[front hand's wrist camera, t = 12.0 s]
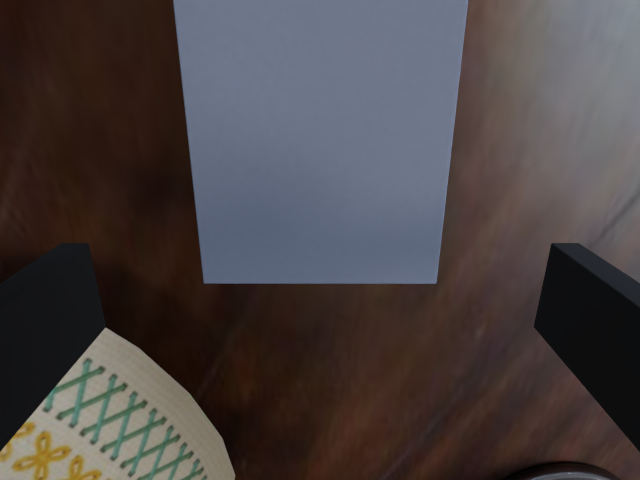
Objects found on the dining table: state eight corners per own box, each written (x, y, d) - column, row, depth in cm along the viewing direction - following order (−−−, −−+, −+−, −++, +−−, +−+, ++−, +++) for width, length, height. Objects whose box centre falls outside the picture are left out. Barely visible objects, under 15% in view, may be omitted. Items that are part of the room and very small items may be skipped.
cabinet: (220, -117, 23) (142, -268, 13) (420, -117, 23) (498, -267, 13) (242, 212, 29) (203, 284, 19) (397, 213, 29) (437, 284, 19)
